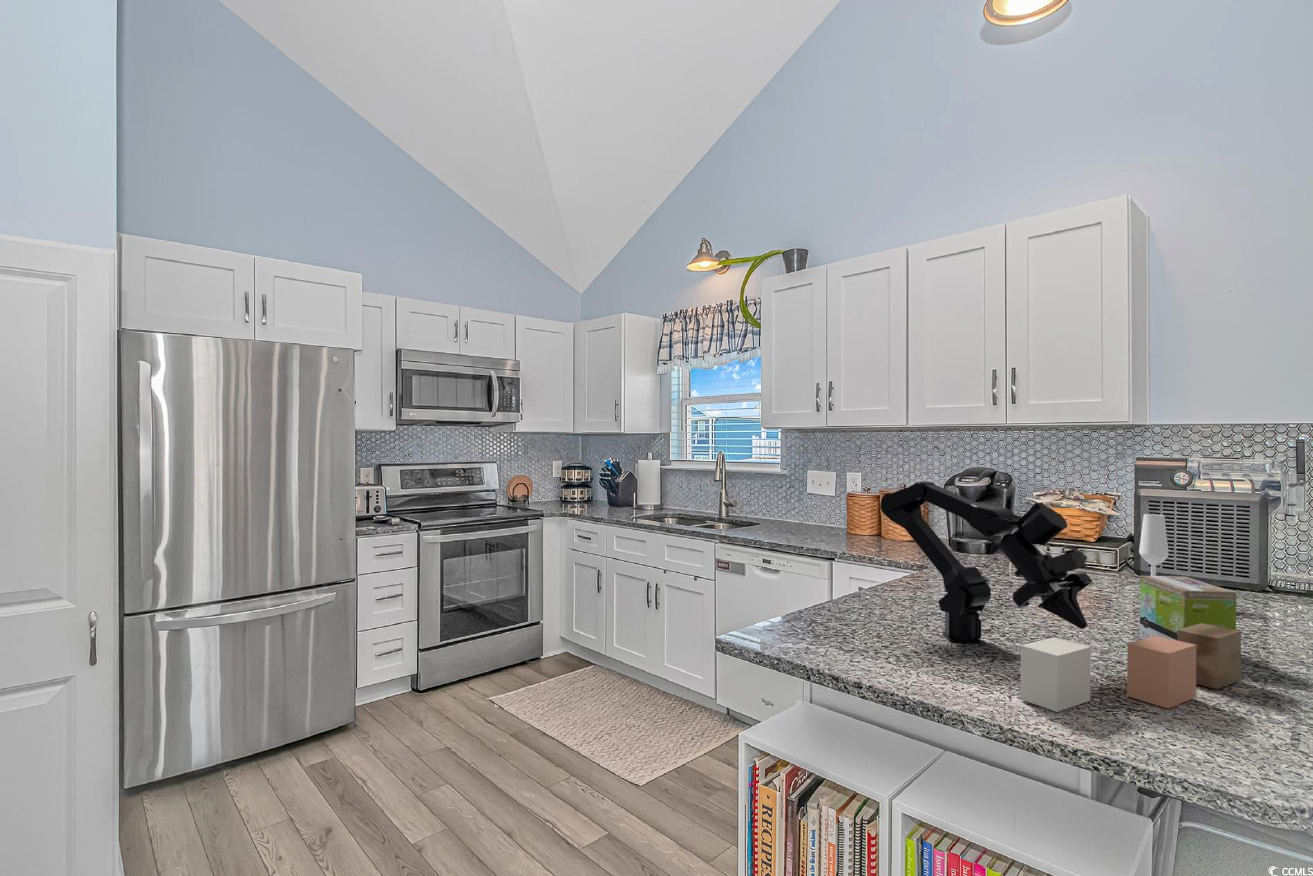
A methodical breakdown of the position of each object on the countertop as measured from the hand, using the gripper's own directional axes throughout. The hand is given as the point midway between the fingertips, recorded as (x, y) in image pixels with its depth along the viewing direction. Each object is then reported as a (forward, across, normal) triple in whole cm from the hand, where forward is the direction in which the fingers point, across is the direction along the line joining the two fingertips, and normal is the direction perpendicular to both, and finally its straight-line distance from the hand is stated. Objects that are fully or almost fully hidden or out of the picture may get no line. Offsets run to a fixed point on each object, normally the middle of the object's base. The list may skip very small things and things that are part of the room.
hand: (1084, 627), depth 123 cm
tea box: (+8, +35, +5) cm, 37 cm away
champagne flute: (-11, +86, +24) cm, 90 cm away
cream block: (+10, -18, +3) cm, 21 cm away
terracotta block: (+15, 0, -2) cm, 15 cm away
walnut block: (+15, +18, -2) cm, 24 cm away
